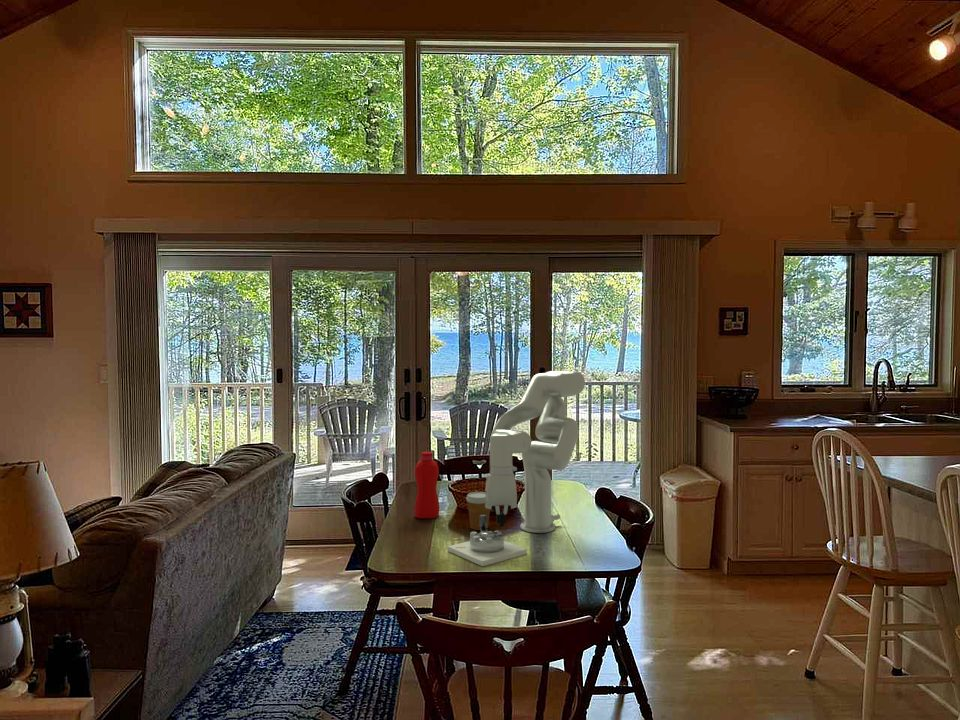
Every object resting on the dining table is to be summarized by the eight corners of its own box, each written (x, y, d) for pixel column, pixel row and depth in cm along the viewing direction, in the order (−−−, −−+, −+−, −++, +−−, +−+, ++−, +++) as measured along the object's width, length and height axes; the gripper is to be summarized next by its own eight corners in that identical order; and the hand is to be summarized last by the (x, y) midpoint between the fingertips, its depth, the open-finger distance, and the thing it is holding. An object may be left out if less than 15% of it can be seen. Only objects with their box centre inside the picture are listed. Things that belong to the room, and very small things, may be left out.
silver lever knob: (507, 551, 199) (506, 526, 199) (472, 553, 197) (472, 528, 197) (498, 537, 213) (498, 514, 213) (466, 539, 212) (466, 515, 212)
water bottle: (440, 512, 252) (440, 449, 251) (437, 519, 241) (437, 454, 240) (417, 511, 252) (417, 449, 252) (413, 519, 241) (413, 454, 241)
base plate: (490, 540, 216) (490, 535, 216) (526, 553, 202) (526, 548, 202) (447, 550, 205) (447, 546, 205) (482, 566, 191) (482, 561, 191)
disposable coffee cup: (462, 525, 234) (462, 493, 233) (486, 522, 237) (486, 490, 237) (471, 532, 225) (471, 498, 224) (496, 529, 228) (496, 496, 228)
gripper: (521, 467, 215) (521, 521, 215) (477, 468, 213) (477, 523, 214) (525, 472, 207) (525, 528, 208) (479, 473, 206) (479, 529, 206)
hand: (501, 525), depth 211 cm, fingers closed
